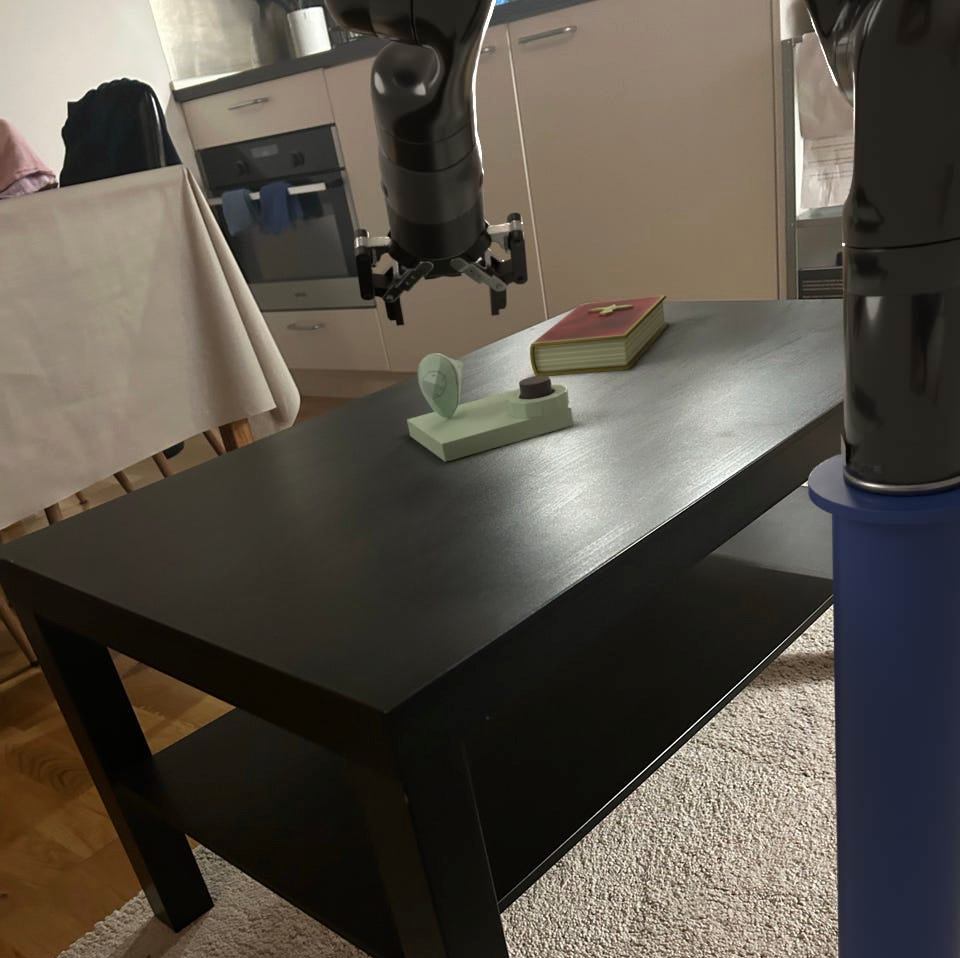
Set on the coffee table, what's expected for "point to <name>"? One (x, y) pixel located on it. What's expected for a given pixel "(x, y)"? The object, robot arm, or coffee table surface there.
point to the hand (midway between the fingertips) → (447, 312)
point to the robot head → (441, 383)
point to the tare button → (535, 387)
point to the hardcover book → (599, 337)
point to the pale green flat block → (491, 423)
